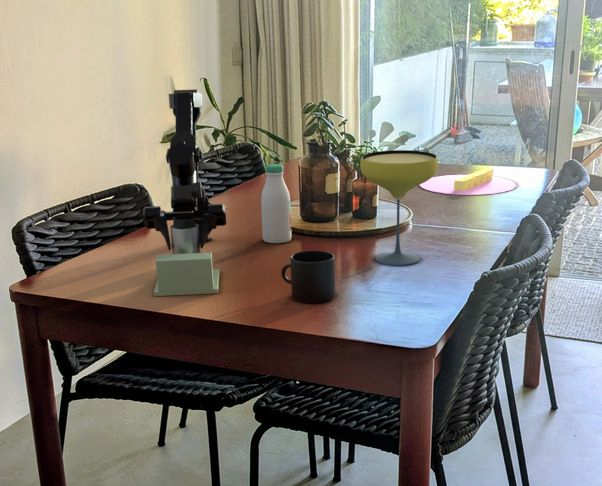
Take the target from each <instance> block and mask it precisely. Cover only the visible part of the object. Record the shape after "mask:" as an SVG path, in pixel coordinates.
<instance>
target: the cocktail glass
mask: <svg viewBox="0 0 602 486" xmlns="http://www.w3.org/2000/svg"><path fill="white" fill-rule="evenodd" d="M359 164H360V168H359V169H360V173H361V174H362V176H363V177H364V178H365V179H367V181H369V182H371V183H373V184H375V185H376V186H378V187H381V188H383V189H384V190H386V191H388V192H389V193H390V195H391V196H392V197H393V199H394V200H396V235H395V247H394V251H391V252H384V253H380V254H378V255H376V257H375V262H377V263H379V264H380V265H381V264H382V265H385V266H392V267H393V266H395V267H399V266H400V267H402V266H411V265H415V264H417V263H419V262H420V260H421V257H420V256H419V255H418V254H415V253H412V252H405V251H404V252H403V251H402V249H401V243H400V242H401V241H400V240H401V239H400V206H401V205H400V204H401V200H402V199H403V198H404V197H405V196H406V195H407V193H408V192H409V191H411V190H412V189H414V188H417V187H418V186H420V184H422V183H424V182H426V181H428V180H429V179H431V178H433V177H435V175H436V174H437V172H438V167H439V160H438V156H437V155H436V154H435V153H433V152H428V151H423V150H422V151H421V150H410V149H404V150H403V149H392V150H391V149H390V150H381V151H380V150H379V151H373V152H369V153H365V154H363V155H362V156H361V158H360V162H359Z"/></svg>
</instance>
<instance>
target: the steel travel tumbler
mask: <svg viewBox="0 0 602 486" xmlns="http://www.w3.org/2000/svg"><path fill="white" fill-rule="evenodd" d="M172 223H173V224H171V225H170V226H169V229H170V231H169V232H170V243H171V254H189V253H202V252H201V245H200V237H199V225H198V224H196V223H195V217H194V216H193V215H178V216H175V217H173V220H172Z"/></svg>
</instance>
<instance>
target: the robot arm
mask: <svg viewBox="0 0 602 486" xmlns="http://www.w3.org/2000/svg"><path fill="white" fill-rule="evenodd" d="M203 98H204V97H203V93H202V92H199V91H198V89H197V88H193V89H174V90H173V93H168V103H169V109H171V110H172V114H173V116H174V117H175V128H174V129H175V131H174V135H173V136H172V137H171V138H170V140H169V148H168V147H167V149H166V154H165V159H166V164H168V165H169V170H170V174H171V184H172V186H170V208H171V209H172V211H165V210H162V208H161V205H158V206H157V205H155V206H145V207H144V208H143V209H142V219H143V223H144V226H145V228H146V229H147V230H155V231H156V232H160V234H161V236H162V237H163V238H164V241H165V244H166V246H167V249H168V251H172V243H171V235H170V231H169V225H168V222H169V221H173V217H175V216H178V215H193V216H194V217H195V223H196V224H198V225H199V237H200V250H201V249H204V246H205V244H206V243H208V242H210V241H212V240H213V239H212V237H209V235H210V234H211V232H212V231H213V230H216V229H217V227H224V226H226V225H227V210H226V206H225V204H224V203H212V202H211V201H210V200H209V197H208V196H206V190H205V189H204V187H203V186H202V182H200V179H199V163H201V162H202V160H203V158H204V155H203V151H202V149H201V148H200V146H198V142H197V123H198V122H199V121H200V118H201V116H202V109H203V108H204V99H203Z"/></svg>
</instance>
